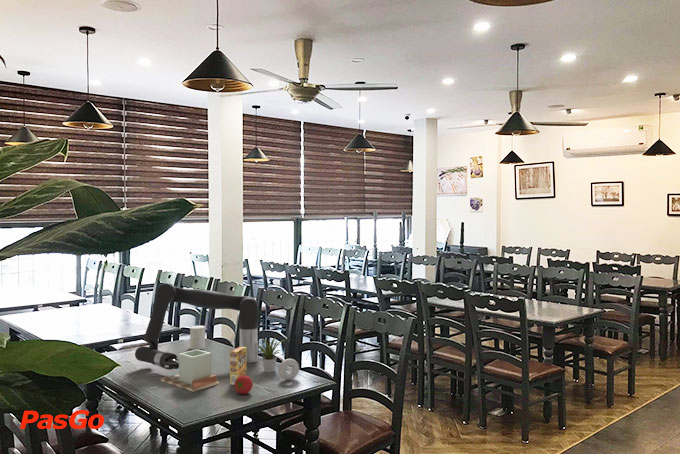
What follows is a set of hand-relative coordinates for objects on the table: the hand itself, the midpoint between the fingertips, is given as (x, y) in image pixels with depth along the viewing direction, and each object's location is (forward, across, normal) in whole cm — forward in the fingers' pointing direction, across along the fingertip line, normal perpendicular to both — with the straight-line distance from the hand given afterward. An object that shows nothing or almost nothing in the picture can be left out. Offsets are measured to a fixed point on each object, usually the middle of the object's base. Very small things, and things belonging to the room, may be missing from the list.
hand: (188, 366), depth 248 cm
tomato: (+31, +5, +7) cm, 33 cm away
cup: (-48, +42, +7) cm, 64 cm away
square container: (+5, 0, +6) cm, 8 cm away
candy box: (+18, +14, +7) cm, 24 cm away
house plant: (+16, +37, +7) cm, 41 cm away
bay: (+1, 0, +7) cm, 7 cm away
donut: (+34, +31, +7) cm, 46 cm away
